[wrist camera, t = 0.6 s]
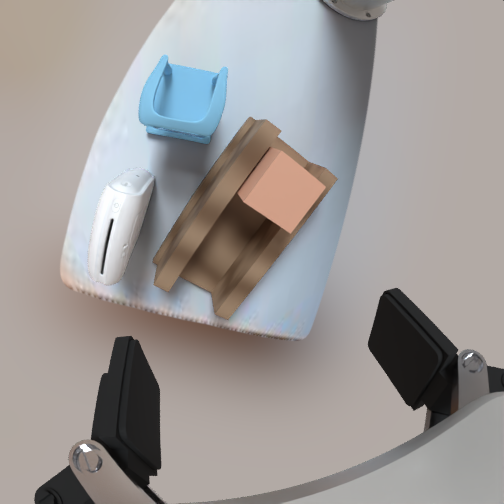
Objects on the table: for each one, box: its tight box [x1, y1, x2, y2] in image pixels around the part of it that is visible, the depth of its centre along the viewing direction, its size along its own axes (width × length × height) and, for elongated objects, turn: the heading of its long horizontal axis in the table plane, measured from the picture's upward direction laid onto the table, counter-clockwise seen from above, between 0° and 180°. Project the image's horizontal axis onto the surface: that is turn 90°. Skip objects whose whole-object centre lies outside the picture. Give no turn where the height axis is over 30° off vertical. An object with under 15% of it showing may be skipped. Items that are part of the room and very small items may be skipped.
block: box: [237, 147, 326, 234], centre depth 30 cm, size 6×6×8 cm
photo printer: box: [88, 168, 155, 285], centre depth 27 cm, size 10×4×12 cm, turn 156°
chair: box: [139, 55, 228, 144], centre depth 23 cm, size 8×8×12 cm
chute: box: [153, 117, 337, 320], centre depth 33 cm, size 22×12×6 cm, turn 143°
